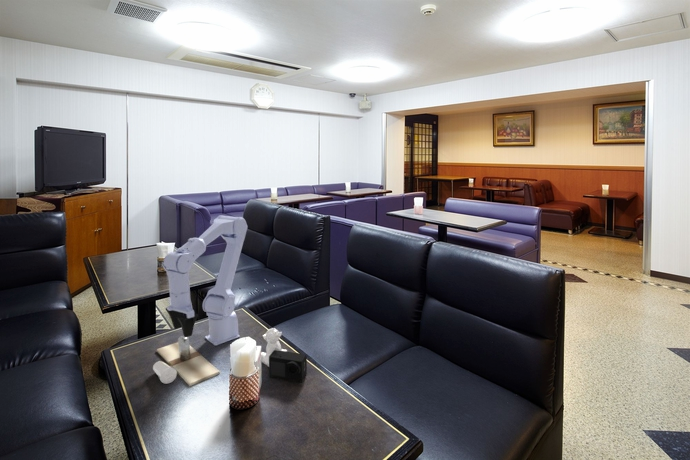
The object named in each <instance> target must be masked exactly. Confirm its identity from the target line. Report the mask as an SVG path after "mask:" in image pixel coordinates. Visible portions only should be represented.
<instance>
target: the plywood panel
mask: <svg viewBox="0 0 690 460" xmlns="http://www.w3.org/2000/svg"><path fill="white" fill-rule="evenodd" d="M156 352H157V353H158V355H160V356H161V357H162V359H164V361H165V363H166V364H167V365H169V366H171V367H172V368H179V369H175V370H176V372H177V375H178V376H180V378H181V379H182V380H183V381H184V382H185V383H186V384H187V385H188V386H189V387H191V386H194V385H196V384H199V383H200V382H203V381H205V380H208V379H210V378H213V377H215V376H218V375H220V370H219V369H218V368H217V367H215V366H214V365H213V364H212V363H211V362H210V361H209V360H207V359H206V358H205V357H204V356H202V354H201V353H200V352H198V351H197V350H196V349H195V348H194V347H192V346H191V345H190V359H189V360H186V361H181V360H180V359H179V346H178V341H177V342H174V343H171V344H167V345H165V346H162V347H160V348H159V347H158V348H157V349H156Z"/></svg>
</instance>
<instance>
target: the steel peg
mask: <svg viewBox="0 0 690 460" xmlns="http://www.w3.org/2000/svg"><path fill="white" fill-rule="evenodd" d="M177 342H178V346H179V359H180V360H181V361H186V360H189V359H190V346H191V345H190V336H189V337H184V335H180V336H179V337H178V338H177Z"/></svg>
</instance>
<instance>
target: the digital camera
mask: <svg viewBox="0 0 690 460" xmlns="http://www.w3.org/2000/svg"><path fill="white" fill-rule="evenodd" d="M307 357H308V355H307V354H305V353H299V352H294V351H293V352H292V351H288V350H287V351H279V350H274V351H273V352H272V353H271V355H270V356H269V367H268V370H269V371H268V372H269V373H268V375H269V378H270V379H271V378H272V379H276V380H282V381H288V382H293V383H294V382H295V383H300V384H303V381H304V380H305V379H306V377H307V372H308V371H307V368H308V367H307V366H308V363H307V362H308V359H307Z"/></svg>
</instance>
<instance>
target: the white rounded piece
mask: <svg viewBox="0 0 690 460" xmlns="http://www.w3.org/2000/svg"><path fill="white" fill-rule="evenodd" d="M175 369H179V368H172V367H171V366H170V365H169V364H168V363H167V362H164V361H162V360H159V361H156V362H155V363H154V364H153V365H152V370H153V371H154V373H155V374H156V375H157V377H158V379H159V380H160V382H161V383H163V384H165V385H166V384H170V383H172V382H173V381H174V380H176V379H177V375H178V373H177V372H176V370H175Z"/></svg>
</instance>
